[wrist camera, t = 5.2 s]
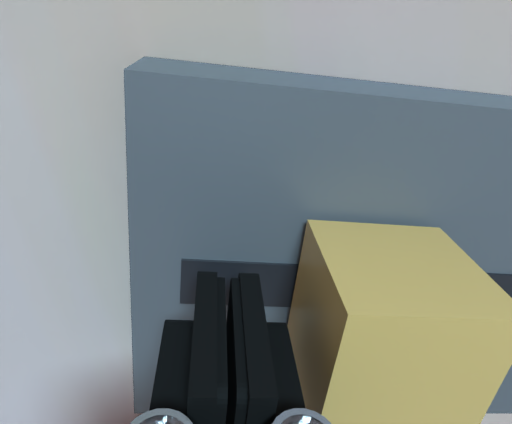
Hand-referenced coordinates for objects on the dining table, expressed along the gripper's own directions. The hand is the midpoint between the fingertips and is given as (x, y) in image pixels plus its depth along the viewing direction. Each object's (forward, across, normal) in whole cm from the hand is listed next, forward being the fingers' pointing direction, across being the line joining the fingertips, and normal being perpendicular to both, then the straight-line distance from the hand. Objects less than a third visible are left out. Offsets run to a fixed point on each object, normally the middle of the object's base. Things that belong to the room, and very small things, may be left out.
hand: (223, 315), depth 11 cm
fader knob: (+1, -4, 0) cm, 4 cm away
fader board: (+4, -8, 0) cm, 9 cm away
